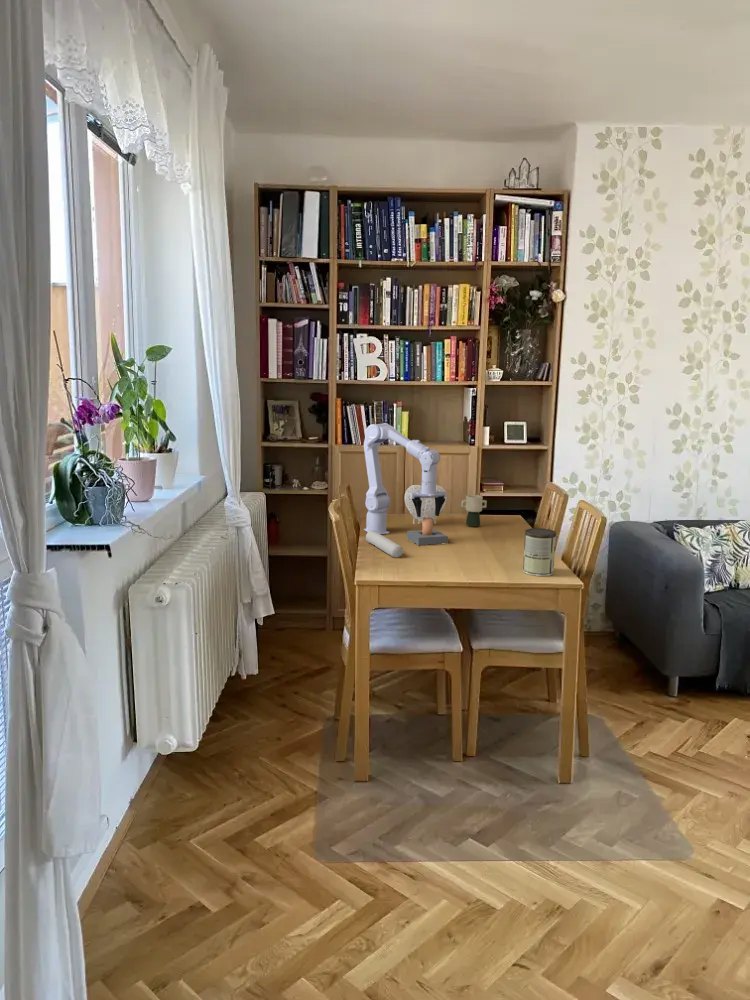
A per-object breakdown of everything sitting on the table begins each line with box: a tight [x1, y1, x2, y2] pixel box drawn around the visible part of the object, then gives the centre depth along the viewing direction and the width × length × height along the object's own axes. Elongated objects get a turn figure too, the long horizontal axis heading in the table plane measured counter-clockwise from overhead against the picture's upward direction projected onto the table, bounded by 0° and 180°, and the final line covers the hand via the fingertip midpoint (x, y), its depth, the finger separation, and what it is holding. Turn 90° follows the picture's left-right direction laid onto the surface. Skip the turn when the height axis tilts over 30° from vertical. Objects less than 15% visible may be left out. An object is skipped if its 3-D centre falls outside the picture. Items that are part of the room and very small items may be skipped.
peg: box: [421, 516, 434, 536], centre depth 298 cm, size 4×4×9 cm
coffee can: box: [522, 527, 557, 577], centre depth 256 cm, size 10×10×14 cm
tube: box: [365, 530, 404, 558], centre depth 283 cm, size 5×5×25 cm
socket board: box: [406, 529, 449, 546], centre depth 299 cm, size 12×12×3 cm
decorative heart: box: [404, 484, 448, 525], centre depth 328 cm, size 18×11×17 cm, turn 95°
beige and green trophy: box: [460, 494, 488, 527], centre depth 327 cm, size 11×7×13 cm, turn 96°
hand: (427, 516), depth 297 cm, fingers open, 7 cm apart
